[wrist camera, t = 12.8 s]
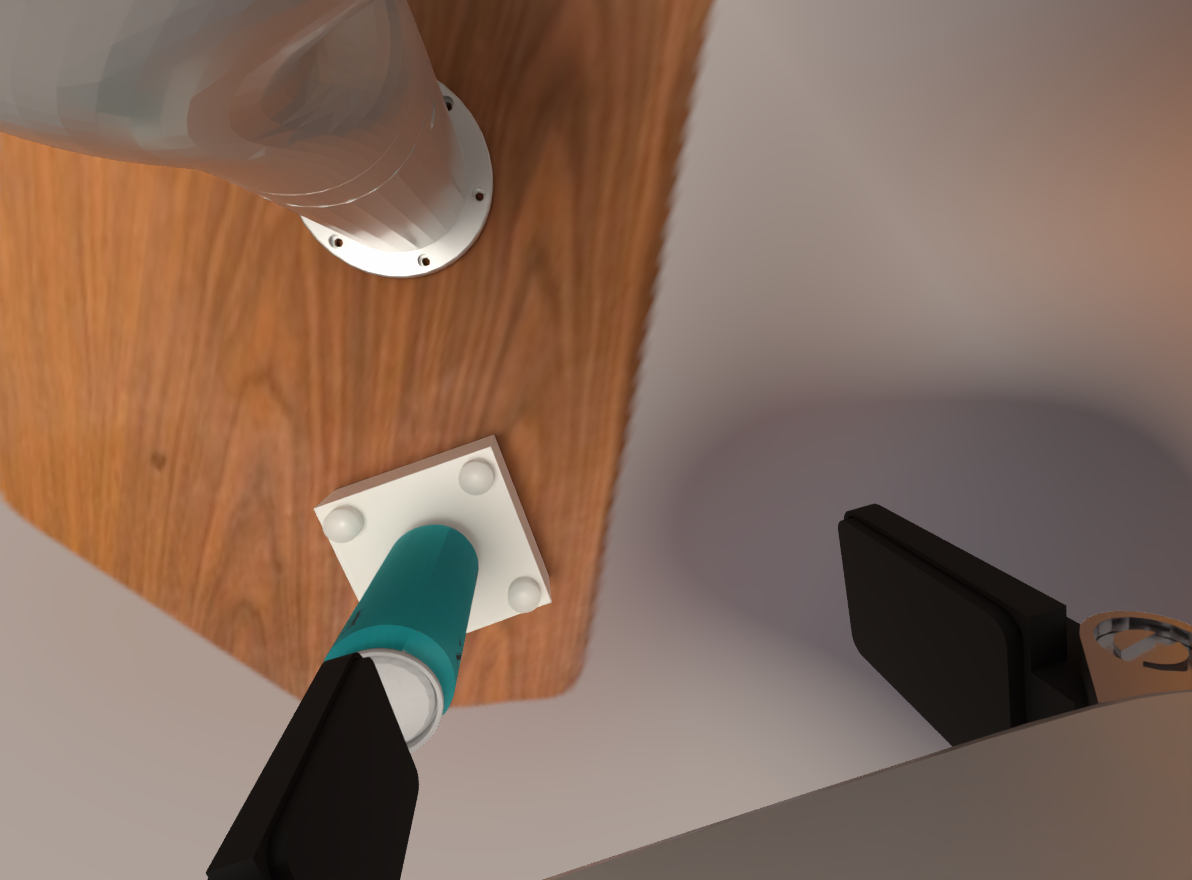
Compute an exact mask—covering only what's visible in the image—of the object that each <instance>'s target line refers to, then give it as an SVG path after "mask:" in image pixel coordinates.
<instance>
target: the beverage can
mask: <svg viewBox="0 0 1192 880" xmlns="http://www.w3.org/2000/svg"><path fill="white" fill-rule="evenodd" d="M478 570H479V565H478V558H477V554H476V552H475V549H474V548H473V546H472V544H471V543H470V542H469V541H468V539H467V538H466V537H465V536H464V535H463V534H462V533H460V532H459V531H457V530H456V529H454V528H452V527H449V526H446V525H439V524H432V525H425V526H421V527H417V528H414V529H412V530H410V531H408V532H407V533H405V534H404V535H402V536H401V537H400V538H399V539H398V540H397V541H396V542H395V544H394V545H393V547H392V548H391V550H390V551H389V553H388V555H387V556H386V558H385V560H384V561H383V563H382V565H381V566H380V568H379V570H378V571H377V573H376V575H375V576H374V578H373V580H372V581H371V583H370V585H369V586H368V588H367V590H366V591H365V593H364V595H363V596H362V598H361V600H360V601H359V603H358V605H357V606H356V608H355V610H354V611H353V613H352V615H351V616H350V618H349V620H348V621H347V623H346V625H345V626H344V628H343V630H342V631H341V633H340V634H339V636H338V638H337V639H336V641H335V643H334V644H333V646H332V648H331V649H330V651H329V653H328V654H327V656H326V658H325V660H324V661H327V660H330V659H334V658H337V657H341V656H344V655H348V654H351V653H355V652H357V653H360V654H361V656H362V657H363V658H366V657H370V658H371V659H372V660H373V662H374V664H375V666H376V668H377V671H378V673H379V676H380V679H381V681H382V684H383V686H384V689H385V691H386V694H387V696H388V699H389V701H390V704H391V706H392V709H393V711H394V714H395V716H396V719H397V721H398V724H399V726H400V729H401V731H402V734H403V736H404V739H405V741H406V744H407V746H408V749H409V752H410V753H411V752H413V751H415V750H417V749H418V748H420V747H421V746H423V745H424V744H425V743H426V742H427V741H428V740H429V739H430V738H431V736H432V735H433V734H434V732H435V731H436V729H437V727H438V725H439V724H440V721H441V718H442V716H443V715H444V714H445V712H446V711H447V709H448V707H449V706H450V704H451V701H452V698H453V695H454V691H455V686H456V681H457V676H458V671H459V666H460V661H461V656H462V651H463V646H464V641H465V636H466V631H467V626H468V621H469V616H470V611H471V606H472V601H473V596H474V591H475V587H476V582H477V577H478ZM323 663H324V662H323Z"/></svg>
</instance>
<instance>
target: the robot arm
mask: <svg viewBox="0 0 1192 880" xmlns="http://www.w3.org/2000/svg"><path fill="white" fill-rule="evenodd" d="M446 105H450V106H452V110H450V111H448V109H447V106H446ZM0 132H3V133H6V134H9V135H12V136H15V137H19V138H22V139H25V140H29V141H33V142H36V143H40V144H43V145H47V146H51V147H54V148H59V149H63V150H67V151H71V152H76V153H80V154H84V155H88V156H94V157H100V158H106V159H112V160H118V161H125V162H132V163H140V164H147V165H157V166H167V167H177V168H187V169H196V170H200V171H203V172H206V173H209V174H212V175H214V176H217V177H219V178H222V179H224V180H226V181H229V182H231V183H233V184H235V185H237V186H240V187H242V188H244V189H246V190H248V191H250V192H252V193H255V194H257V195H259V196H261V197H263V198H265V199H267V200H269V201H272V202H274V203H276V204H278V205H280V206H282V207H284V208H286V209H288V210H291V211H293V212H295V213H297V214H299V216H300V218H301V219H302V221H303V223H304V225H305V226H306V227H307V228H308V230H309V231H310V232H311V234H312V235H313V236H314V237H315V239H316V240H317V241H318V242H319V243H320V244H321V245H323V246H324V247H325V248H326V249H327V250H328V251H329V252H330V253H331V254H332V255H334V256H336V257H337V258H339V259H340V260H342V261H343V262H345V263H347V264H348V265H350V266H352V267H354V268H357V269H359V270H362V271H364V272H367V273H369V274H373V275H377V276H380V277H388V278H397V279H405V278H418V277H422V276H426V275H429V274H433V273H436V272H438V271H440V270H442V269H444V268H446V267H448V266H450V265H452V264H453V263H454V262H455V261H457V260H458V259H459V258H460V257H462V256H463V255H464V254H465V253H466V252H467V251H468V250H469V249H470V247H471V246H472V245H473V244H474V243H475V241H476V240H477V239H478V237H479V235H480V233H481V231H482V229H483V227H484V226H485V224H486V221H487V218H488V214H489V211H490V208H491V203H492V194H493V173H492V164H491V160H490V155H489V151H488V148H487V145H486V142H485V139H484V136H483V133H482V132H481V130H480V128H479V126H478V124H477V122H476V121H475V119H474V117H473V115H472V114H471V112H470V111H469V110H468V109H467V107H466V106H465V105H464V104H463V102H462V101H461V100H460V99H459V97H457V96H456V95H455V94H454V93H453V92H452V91H451V90H450V89H448V88H447V87H446V86H445V85H444V84H443V83H441V82H440V81H438V80H437V79H436V76H435V73H434V71H433V68H432V65H431V62H430V60H429V57H428V54H427V52H426V49H425V46H424V43H423V41H422V38H421V35H420V33H419V30H418V28H417V25H416V23H415V20H414V17H413V15H412V12H411V10H410V7H409V5H408V3H407V1H406V0H0ZM477 194H482V195H483V196H484V198H483V200H482V201H478V200H477V199H476V196H477ZM339 239H341V240H342V241H343V245H342V246H341V247H338V246H337V240H339ZM425 258H428V259H429V260H430V264H429V265H428V266H424V264H423V260H424V259H425ZM838 532H839V539H840V547H841V555H842V562H843V570H844V577H845V584H846V593H847V600H848V608H849V615H850V623H851V630H852V637H853V640H854V643H855V645H856V647H857V649H858V651H859V652H860V654H861V655H862V656H863V657H864V658H865V659H866V660H867V661H868V662H869V663H870V664H871V665H872V666H873V667H874V668H875V669H876V670H877V671H878V672H879V673H880V674H881V675H882V676H883V677H884V678H885V679H886V680H887V681H888V682H889V683H890V684H891V685H892V686H893V687H894V688H895V689H896V690H897V691H898V692H899V693H900V694H901V695H902V696H903V697H904V698H905V699H906V700H907V701H908V702H909V703H910V704H911V705H912V706H913V707H914V708H915V709H916V710H917V711H918V712H919V713H920V714H921V715H922V716H923V717H924V718H925V719H926V720H927V721H928V722H929V723H930V724H931V725H932V726H933V727H934V728H935V729H936V730H937V731H938V732H939V733H940V734H941V735H942V736H943V737H944V738H945V739H946V740H947V741H948V742H949V743H950V744H951V745H952V747H950V748H947V749H944V750H941V751H938V752H935V753H931V754H928V755H926V756H922V757H919V758H916V759H913V760H909V761H906V762H903V763H900V764H897V765H894V766H891V767H888V768H885V769H881V770H878V771H875V772H872V773H869V774H866V775H863V776H860V777H856V778H853V779H850V780H847V781H844V782H840V783H837V784H835V785H831V786H828V787H825V788H822V789H818V790H815V791H812V792H809V793H806V794H803V795H800V796H797V797H793V798H791V799H787V800H784V801H781V802H778V803H775V804H772V805H769V806H766V807H763V808H760V809H757V810H753V811H750V812H747V813H744V814H741V815H738V816H735V817H732V818H729V819H726V820H723V821H720V822H716V823H713V824H710V825H707V826H705V827H701V828H698V829H695V830H692V831H689V832H686V833H683V834H680V835H677V836H674V837H671V838H668V839H664V840H662V841H658V842H655V843H653V844H649V845H646V846H643V847H640V848H637V849H634V850H631V851H628V852H625V853H622V854H619V855H616V856H612V857H609V858H607V859H603V860H600V861H597V862H594V863H591V864H588V865H586V866H582V867H579V868H576V869H573V870H570V871H567V872H564V873H561V874H558V875H556V876H552V877H549V878H546V879H543V880H1192V626H1191V625H1189V624H1186V623H1184V622H1181V621H1179V620H1175V619H1172V618H1168V617H1165V616H1161V615H1157V614H1150V613H1144V612H1137V611H1111V612H1104V613H1098V614H1096V615H1093V616H1091V617H1088V618H1086V620H1085V621H1084V622H1083V623H1082V624H1079V623H1077V622H1075V621H1073V620H1072V619H1070V618H1068V617H1066V605H1064V604H1062V603H1060V602H1058V601H1057V600H1055V599H1053V598H1051V597H1049V596H1047V595H1046V594H1044V593H1042V592H1040V591H1038V590H1036V589H1034V588H1032V587H1031V586H1028V585H1027V584H1025V583H1023V582H1021V581H1020V580H1018V579H1016V578H1014V577H1012V576H1010V575H1008V574H1007V573H1005V572H1003V571H1001V570H999V569H997V568H995V567H994V566H991V565H990V564H988V563H986V562H984V561H982V560H980V559H979V558H977V557H975V556H973V555H971V554H969V553H968V552H966V551H964V550H962V549H960V548H958V547H956V546H954V545H953V544H951V543H949V542H947V541H945V540H943V539H942V538H940V537H938V536H936V535H934V534H932V533H930V532H928V531H926V530H925V529H923V528H921V527H919V526H917V525H915V524H914V523H912V522H910V521H908V520H906V519H904V518H902V517H901V516H899V515H897V514H895V513H893V512H891V511H889V510H888V509H886V508H884V507H882V506H880V505H878V504H871V505H868V506H864V507H861V508H857V509H854V510H850V511H847V512H846V513H845V516H844V520H842V521H840V522H839V524H838ZM418 790H419V780H418V773H417V770H416V767H415V764H414V762H413V759H412V757H411V754H410V752H409V749H408V746H407V744H406V741H405V739H404V736H403V734H402V731H401V729H400V726H399V724H398V721H397V719H396V716H395V714H394V711H393V709H392V706H391V704H390V701H389V699H388V696H387V694H386V691H385V689H384V686H383V684H382V681H381V679H380V676H379V673H378V671H377V668H376V666H375V664H374V662H373V660H372V659H371V658H370V657H366V658H363V657H362V656H361V654H360V653H357V652H355V653H351V654H348V655H344V656H341V657H337V658H334V659H330V660H327V661H324V663H323V664H322V665H321V667H320V669H319V670H318V672H317V674H316V676H315V678H314V679H313V681H312V683H311V685H310V687H309V688H308V690H307V692H306V694H305V696H304V697H303V699H302V701H301V703H300V705H299V707H298V708H297V710H296V712H295V713H294V716H293V718H292V719H291V721H290V722H289V724H288V726H287V728H286V730H285V732H284V733H283V735H282V737H281V739H280V740H279V742H278V744H277V746H276V748H275V749H274V751H273V753H272V755H271V757H270V758H269V760H268V762H267V764H266V766H265V767H264V769H263V771H262V773H261V774H260V776H259V778H258V780H257V782H256V784H255V785H254V787H253V789H252V791H251V793H250V794H249V796H248V798H247V800H246V801H245V803H244V805H243V807H242V809H241V810H240V812H239V814H238V816H237V818H236V819H235V821H234V823H233V825H232V827H231V828H230V830H229V832H228V834H227V835H226V837H225V839H224V841H223V843H222V845H221V846H220V848H219V850H218V852H217V854H216V855H215V857H214V859H213V861H212V862H211V864H210V866H209V868H208V869H207V871H206V874H207V876H208V880H400V877H401V872H402V868H403V863H404V859H405V854H406V849H407V844H408V839H409V834H410V830H411V825H412V820H413V815H414V810H415V806H416V801H417V796H418Z"/></svg>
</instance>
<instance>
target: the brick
mask: <svg viewBox="0 0 1192 880" xmlns="http://www.w3.org/2000/svg"><path fill="white" fill-rule="evenodd" d="M314 510H315V512H316V514H317V517H318V519H319V521H320V523H321V525H322V527H323V531H324V533H325V535H326V536H327V537H328V539H329V541H330V543H331V545H332V547H333V549H334V551H335V553H336V555H337V557H338V559H339V562H340V564H341V566H342V568H343V570H344V572H345V574H346V576H347V578H348V580H349V582H350V584H351V586H352V588H353V590H354V592H355V594H356V596H357V598H358V600H359V601H360V600H361V598H362V596H363V595H364V593H365V591H366V590H367V588H368V586H369V585H370V583H371V581H372V580H373V578H374V576H375V575H376V573H377V571H378V570H379V568H380V566H381V565H382V563H383V561H384V560H385V558H386V556H387V555H388V553H389V551H390V550H391V548H392V547H393V545H394V544H395V542H396V541H397V540H398V539H399V538H400V537H401V536H402V535H404V534H405V533H407V532H408V531H410V530H412V529H414V528H417V527H421V526H425V525H432V524H439V525H446V526H449V527H452V528H454V529H456V530H457V531H459V532H460V533H462V534H463V535H464V536H465V537H466V538H467V539H468V541H469V542H470V543H471V544H472V546H473V548H474V549H475V552H476V554H477V558H478V565H479V570H478V577H477V582H476V587H475V591H474V596H473V601H472V606H471V611H470V616H469V621H468V626H467V631H466V633H469V632H471V631H474V630H477V629H480V628H482V627H485V626H488V625H490V624H493V623H496V622H499V621H501V620H504V619H507V618H510V617H512V616H515V615H518V614H520V613H528V612H531V611H533V610H534V609H535V608H537V607H539V606H542V605H545V604H548V603H550V602H551V591H550V580H549V575H548V572H547V570H546V567H545V564H544V562H543V559H542V557H541V554H540V552H539V549H538V546H537V544H536V541H535V539H534V536H533V533H532V531H531V528H530V526H529V523H528V521H527V518H526V515H525V513H524V510H523V508H522V505H521V503H520V500H519V497H518V495H517V492H516V490H515V487H514V484H513V482H512V479H511V477H510V474H509V472H508V469H507V466H506V464H505V461H504V459H503V456H502V453H501V451H500V448H499V446H498V443H497V441H496V438H495V435H491V436H488V437H485V438H482V439H479V440H477V441H474V442H471V443H468V444H465V445H462V446H459V447H457V448H454V449H451V450H448V451H445V452H442V453H439V454H437V455H434V456H431V457H428V458H425V459H422V460H419V461H416V462H414V463H411V464H408V465H405V466H402V467H399V468H396V469H394V470H391V471H388V472H385V473H382V474H379V475H376V476H374V477H371V478H368V479H365V480H362V481H359V482H356V483H354V484H351V485H348V486H345V487H342V488H339V489H336V490H334V491H333V492H332V493H331V494H330V495H329V496H327V497H326V498H325V499H324V500H323V501H322V502H321V503H319V504H318V505H317V506H316V507H315V508H314Z"/></svg>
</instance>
